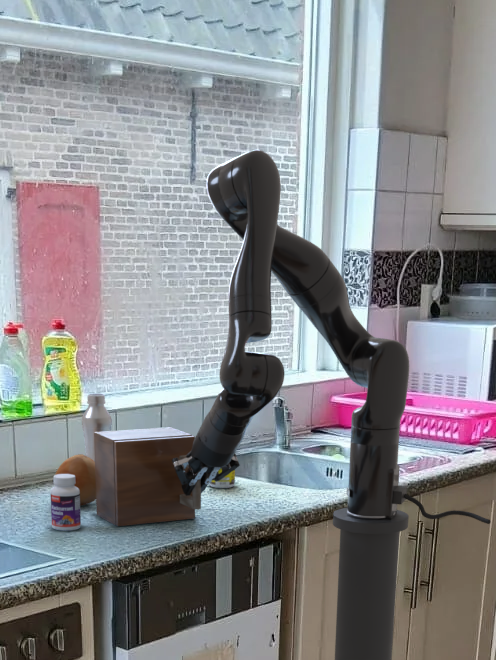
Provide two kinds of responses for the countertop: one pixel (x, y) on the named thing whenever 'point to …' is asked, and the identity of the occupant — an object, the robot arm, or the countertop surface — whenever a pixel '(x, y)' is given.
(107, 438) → the cabinet
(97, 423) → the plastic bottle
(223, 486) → the supplement bottle
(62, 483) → the pill bottle
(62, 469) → the onion
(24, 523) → the countertop surface
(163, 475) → the door
